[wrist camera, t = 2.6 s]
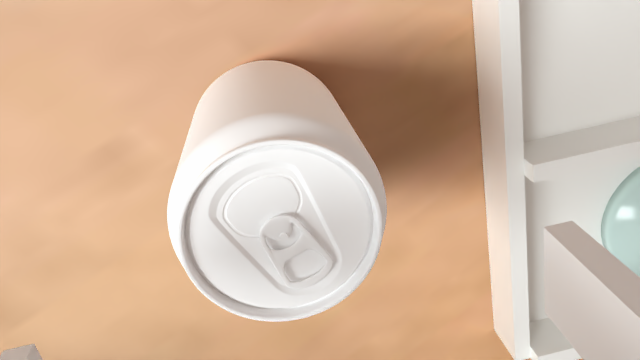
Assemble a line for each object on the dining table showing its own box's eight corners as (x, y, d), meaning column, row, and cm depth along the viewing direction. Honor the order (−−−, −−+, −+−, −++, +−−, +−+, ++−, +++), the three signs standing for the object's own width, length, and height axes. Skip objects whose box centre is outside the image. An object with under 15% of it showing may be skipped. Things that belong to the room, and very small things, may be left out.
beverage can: (292, 27, 27) (324, 77, 16) (365, 152, 31) (433, 263, 20) (162, 109, 28) (109, 208, 17) (246, 222, 31) (248, 367, 20)
